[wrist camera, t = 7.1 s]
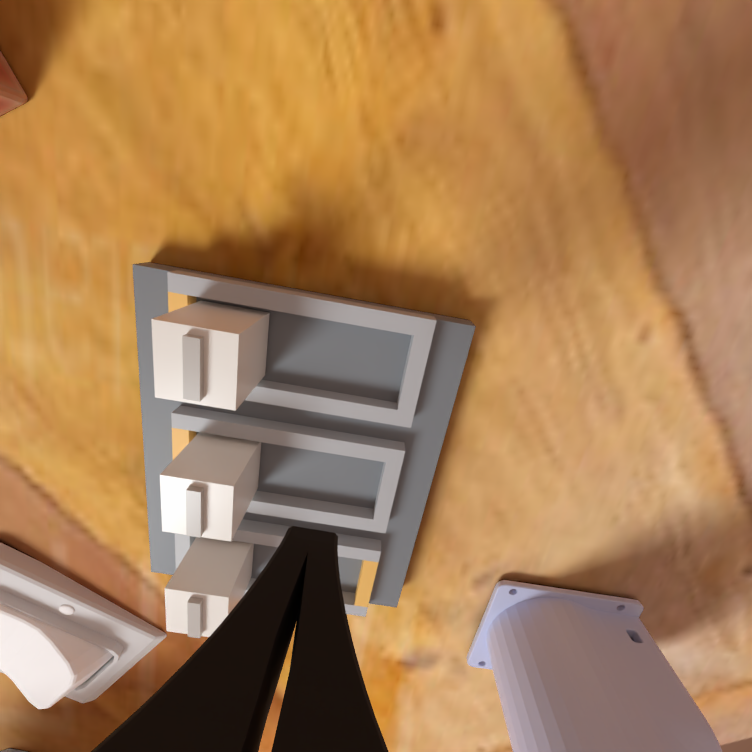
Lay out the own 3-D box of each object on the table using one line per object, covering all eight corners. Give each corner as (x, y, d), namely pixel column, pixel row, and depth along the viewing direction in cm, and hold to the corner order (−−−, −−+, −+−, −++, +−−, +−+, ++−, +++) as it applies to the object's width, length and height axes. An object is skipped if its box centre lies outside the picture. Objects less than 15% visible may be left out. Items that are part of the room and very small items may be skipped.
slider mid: (261, 439, 19) (231, 491, 15) (258, 487, 20) (228, 547, 16) (201, 429, 18) (155, 479, 15) (201, 478, 20) (158, 536, 16)
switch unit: (470, 318, 18) (480, 328, 16) (395, 590, 24) (396, 621, 22) (149, 259, 17) (119, 263, 15) (162, 556, 23) (143, 584, 22)
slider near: (269, 312, 16) (235, 336, 13) (265, 375, 17) (232, 414, 14) (201, 300, 16) (145, 321, 12) (200, 364, 17) (150, 400, 14)
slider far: (254, 537, 21) (226, 603, 17) (251, 575, 22) (224, 645, 18) (201, 529, 21) (161, 594, 17) (200, 568, 22) (163, 637, 18)
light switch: (68, 748, 27) (-134, 679, 23) (105, 681, 30) (-62, 613, 27) (148, 681, 24) (-69, 588, 20) (178, 616, 27) (1, 528, 24)
